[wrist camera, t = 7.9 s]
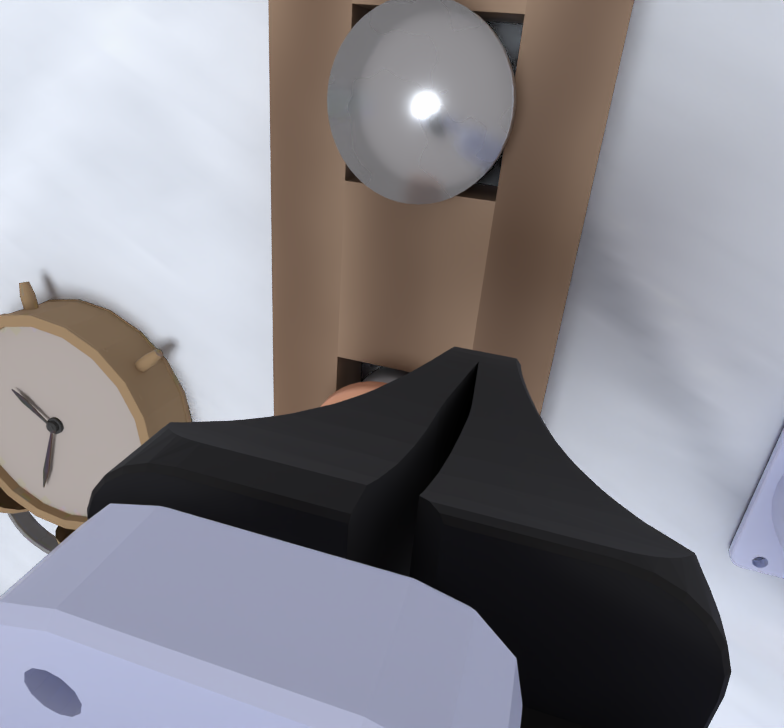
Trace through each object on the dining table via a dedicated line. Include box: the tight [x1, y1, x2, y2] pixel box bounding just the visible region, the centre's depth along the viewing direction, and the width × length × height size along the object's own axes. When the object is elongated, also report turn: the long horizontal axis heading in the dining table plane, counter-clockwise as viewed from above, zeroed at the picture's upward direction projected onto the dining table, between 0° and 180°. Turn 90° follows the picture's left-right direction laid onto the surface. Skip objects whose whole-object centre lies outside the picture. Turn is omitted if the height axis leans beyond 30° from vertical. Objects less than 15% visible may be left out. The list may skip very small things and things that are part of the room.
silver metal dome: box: [327, 0, 516, 204], centre depth 17 cm, size 5×5×4 cm
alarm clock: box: [0, 282, 192, 554], centre depth 30 cm, size 11×5×15 cm
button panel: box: [269, 0, 634, 416], centre depth 20 cm, size 10×22×3 cm, turn 176°
